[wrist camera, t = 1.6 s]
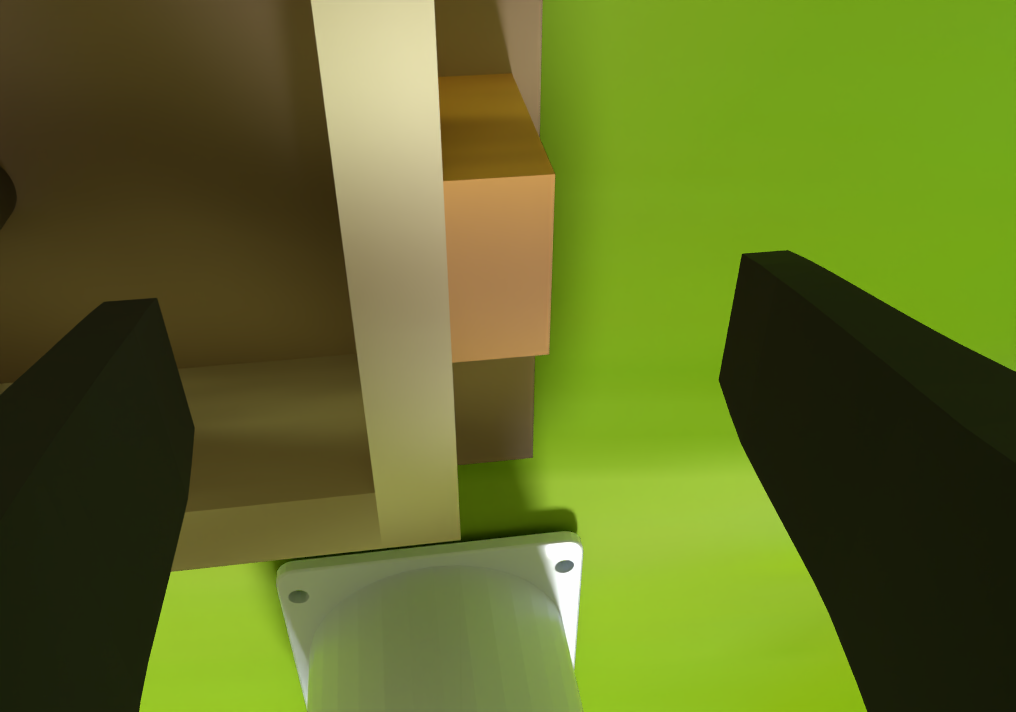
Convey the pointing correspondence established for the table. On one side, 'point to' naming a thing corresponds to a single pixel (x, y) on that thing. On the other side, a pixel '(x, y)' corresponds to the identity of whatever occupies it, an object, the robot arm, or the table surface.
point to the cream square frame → (382, 309)
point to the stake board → (210, 183)
